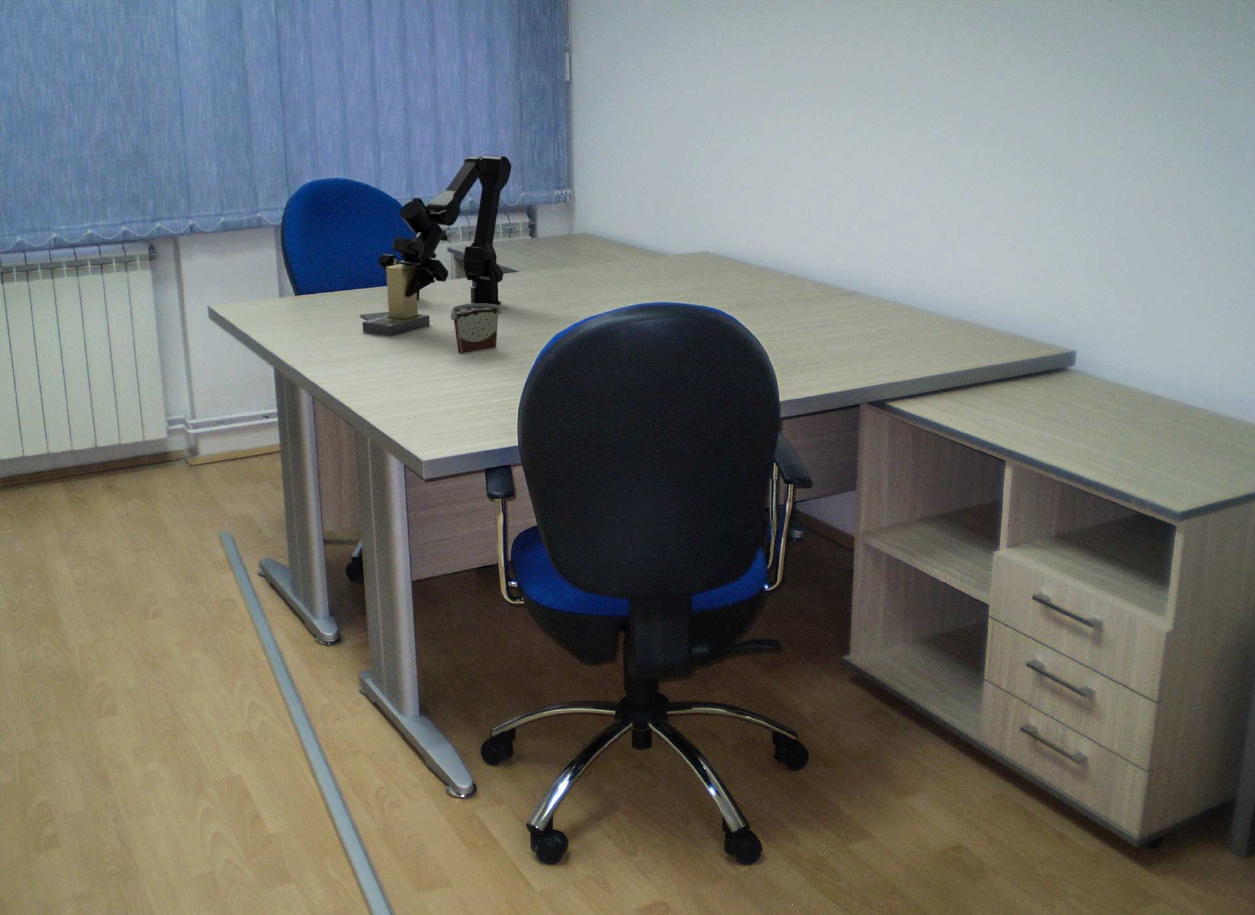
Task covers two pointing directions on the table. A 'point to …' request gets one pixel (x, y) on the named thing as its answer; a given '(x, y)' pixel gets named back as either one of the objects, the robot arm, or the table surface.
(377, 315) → the rubber pad
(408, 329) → the grey tray
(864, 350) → the table surface
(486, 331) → the food container
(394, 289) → the tan rectangular block
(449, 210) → the robot arm
